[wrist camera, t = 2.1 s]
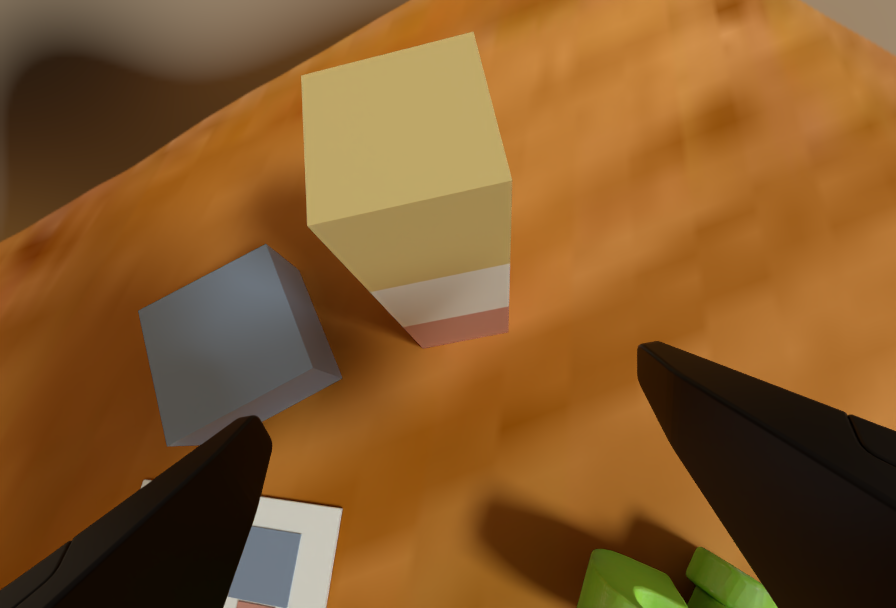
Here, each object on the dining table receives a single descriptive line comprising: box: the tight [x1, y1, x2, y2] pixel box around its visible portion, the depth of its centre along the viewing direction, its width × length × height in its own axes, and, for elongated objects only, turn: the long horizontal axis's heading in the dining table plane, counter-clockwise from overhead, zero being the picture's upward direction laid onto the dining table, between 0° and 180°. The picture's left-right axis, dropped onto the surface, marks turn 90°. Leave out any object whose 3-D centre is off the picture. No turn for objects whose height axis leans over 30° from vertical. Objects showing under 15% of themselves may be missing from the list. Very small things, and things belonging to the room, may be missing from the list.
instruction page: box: [141, 479, 343, 608], centre depth 20 cm, size 12×9×1 cm
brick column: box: [301, 32, 512, 348], centre depth 17 cm, size 5×5×14 cm
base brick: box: [138, 244, 342, 446], centre depth 22 cm, size 8×8×4 cm
